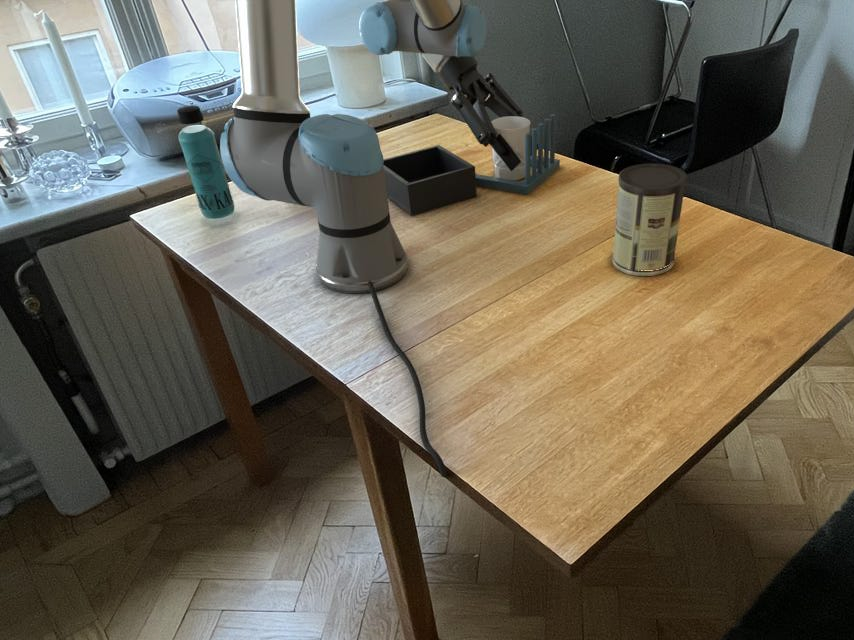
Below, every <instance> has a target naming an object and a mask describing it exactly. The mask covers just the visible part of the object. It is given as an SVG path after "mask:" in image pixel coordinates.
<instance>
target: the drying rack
mask: <svg viewBox="0 0 854 640" xmlns="http://www.w3.org/2000/svg"><path fill="white" fill-rule="evenodd" d="M543 121H544V123H541V122H540V123H538V126H537V127H534V128H531V132H530V133H526V134H525V177H524V179H525V180H524V181H520V180H515V181H514V180H508V179H502V178H496V177H495V176H490V175H485V174H479V173H475V176H476V187H481V188H486V189H493V190H497V191H503V192H510V193H515V194H520V195H525V196H528V195H529V194H531V193H532V192H533V191H534V190H535V189H536V188H538V187H539V186H540V185H541V184H542V183H544V182H545V181H546V180H547V179H548V178H549V177H551V175H553V174H554V173H555V172H557V170H559V169H560V166H561V165H560V163H561V159H557V158H555V157H556V156H555V155H556V121H557V120H556V114H555V113H552V114H550V118H544V120H543ZM531 136H532V156H531ZM537 144H538V150H537Z"/></svg>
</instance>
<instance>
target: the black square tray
mask: <svg viewBox="0 0 854 640" xmlns="http://www.w3.org/2000/svg"><path fill="white" fill-rule="evenodd" d="M383 160H384V163H383V167H384V175H385V182H386V190H387V197H388V200H389V201H391V202H392V203H393V204H394V205H396V206H397V207H398V208H400V209H401V210H403V212H405V213H407V214H408V215H409V216H410V217H413V216H416V215H420V214H422V213H426V212H430V211H432V210H436V209H439V208H443V207H447V206H450V205H454V204H457V203H461V202H463V201H467V200H470V199H473V198H477V186H476V176H475V174H476V166H475V165H474V164H472V163H470V162H469V161H467V160H465V159H464V158H462V157H460V156H459V155H457V154H455V153H454V152H451V151H450V150H449V149H447V148H445V147H443V146H441V144H436V145H433V146H429V147H425V148H421V149H418V150H413V151H410V152H405V153H402V154H398V155H394V156H391V157H386V158H383Z"/></svg>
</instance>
